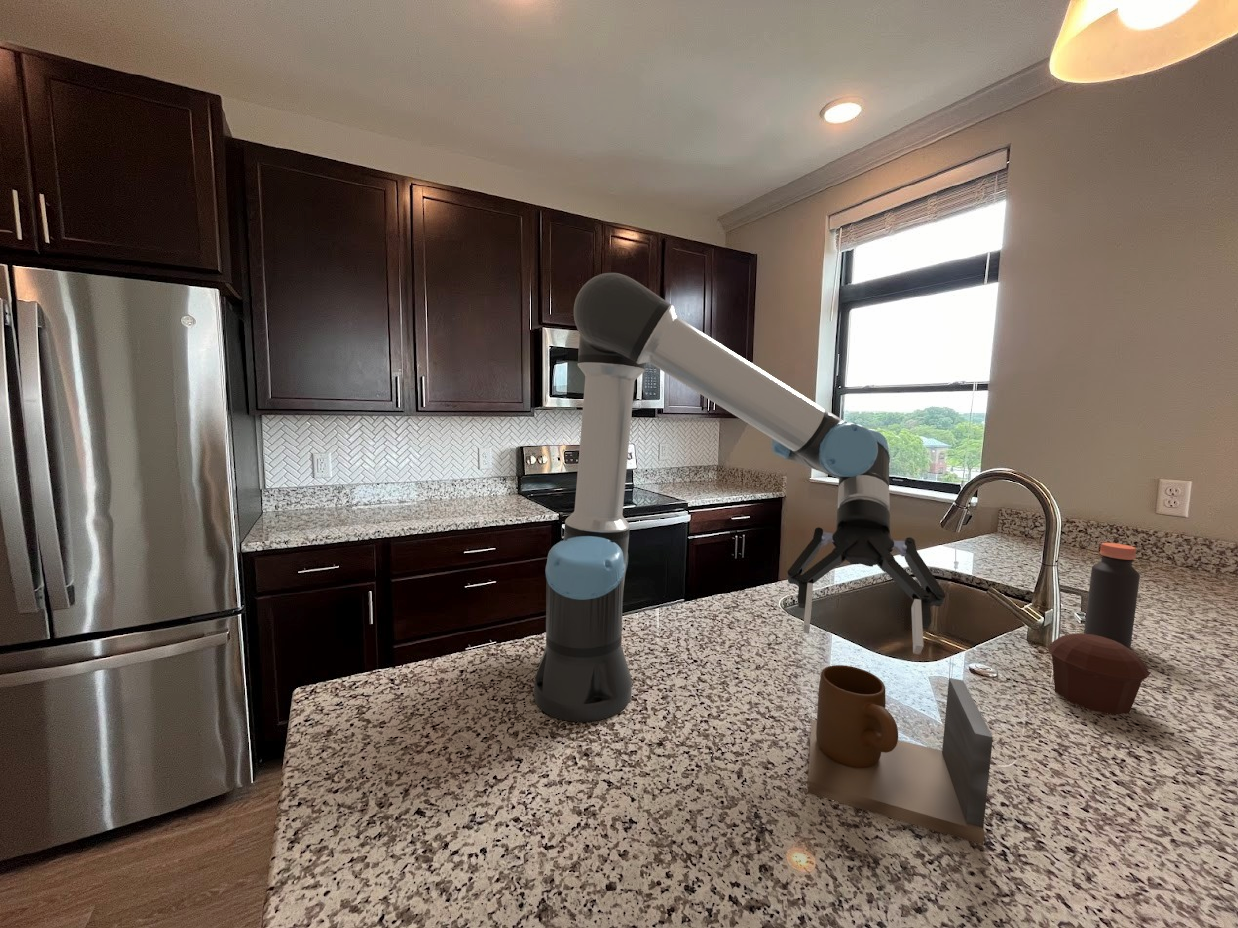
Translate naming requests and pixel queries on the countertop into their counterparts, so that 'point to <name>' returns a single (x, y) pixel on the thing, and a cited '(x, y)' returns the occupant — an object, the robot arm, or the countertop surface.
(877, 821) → the countertop surface
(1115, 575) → the bottle
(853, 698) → the mug
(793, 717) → the countertop surface
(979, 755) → the shelf
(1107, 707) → the muffin
